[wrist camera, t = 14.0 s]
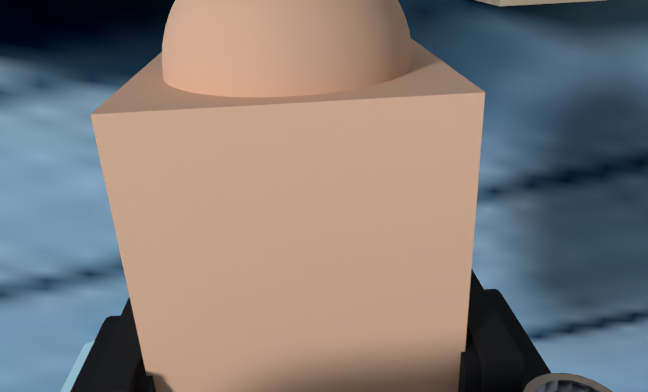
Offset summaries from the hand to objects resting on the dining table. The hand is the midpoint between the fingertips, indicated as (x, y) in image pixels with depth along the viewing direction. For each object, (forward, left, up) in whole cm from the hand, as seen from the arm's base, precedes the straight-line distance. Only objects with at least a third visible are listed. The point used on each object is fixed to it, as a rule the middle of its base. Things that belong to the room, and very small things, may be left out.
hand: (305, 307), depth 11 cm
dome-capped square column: (0, 0, 0) cm, 0 cm away
